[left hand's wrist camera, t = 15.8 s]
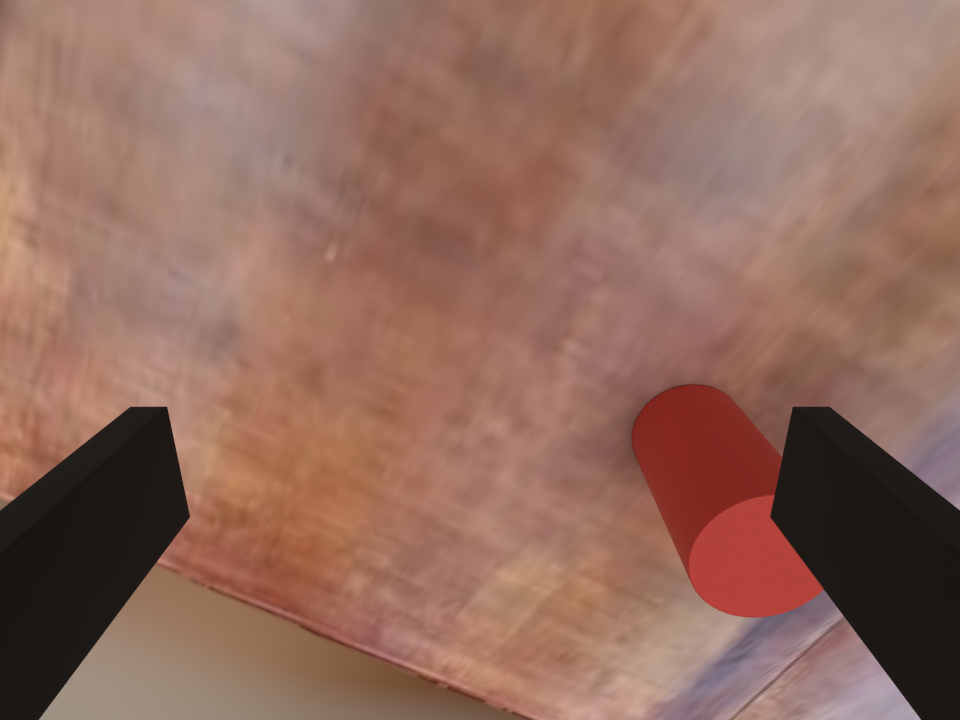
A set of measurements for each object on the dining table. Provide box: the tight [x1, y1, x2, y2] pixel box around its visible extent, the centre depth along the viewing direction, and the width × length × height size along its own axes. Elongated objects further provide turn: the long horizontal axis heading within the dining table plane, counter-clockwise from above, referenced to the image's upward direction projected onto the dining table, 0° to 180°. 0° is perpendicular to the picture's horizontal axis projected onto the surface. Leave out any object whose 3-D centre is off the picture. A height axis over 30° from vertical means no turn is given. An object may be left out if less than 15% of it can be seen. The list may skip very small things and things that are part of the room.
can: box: [632, 385, 823, 617], centre depth 33 cm, size 7×7×12 cm
